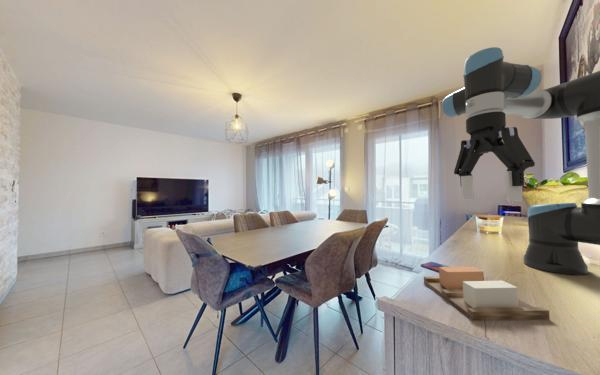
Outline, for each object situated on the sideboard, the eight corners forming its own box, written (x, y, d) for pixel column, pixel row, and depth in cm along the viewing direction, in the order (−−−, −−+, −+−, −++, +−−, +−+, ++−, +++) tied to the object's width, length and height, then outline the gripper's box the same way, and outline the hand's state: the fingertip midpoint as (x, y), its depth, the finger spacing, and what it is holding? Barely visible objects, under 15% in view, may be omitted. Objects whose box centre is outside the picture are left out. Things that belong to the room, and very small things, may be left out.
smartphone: (431, 264, 87) (431, 261, 87) (474, 276, 74) (474, 273, 74) (419, 267, 84) (419, 264, 84) (461, 280, 71) (461, 277, 71)
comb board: (478, 281, 69) (478, 275, 69) (549, 319, 49) (549, 310, 49) (424, 282, 69) (423, 276, 69) (472, 320, 49) (472, 311, 49)
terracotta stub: (473, 283, 66) (472, 266, 66) (484, 289, 62) (483, 271, 62) (439, 283, 66) (439, 267, 66) (448, 289, 62) (447, 272, 62)
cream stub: (503, 300, 56) (502, 280, 56) (518, 308, 52) (517, 287, 52) (463, 300, 56) (462, 281, 56) (475, 309, 52) (474, 288, 52)
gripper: (438, 129, 67) (441, 198, 67) (518, 93, 42) (523, 203, 42) (463, 129, 67) (466, 198, 66) (558, 92, 42) (563, 202, 41)
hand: (488, 200), depth 54 cm, fingers open, 13 cm apart
